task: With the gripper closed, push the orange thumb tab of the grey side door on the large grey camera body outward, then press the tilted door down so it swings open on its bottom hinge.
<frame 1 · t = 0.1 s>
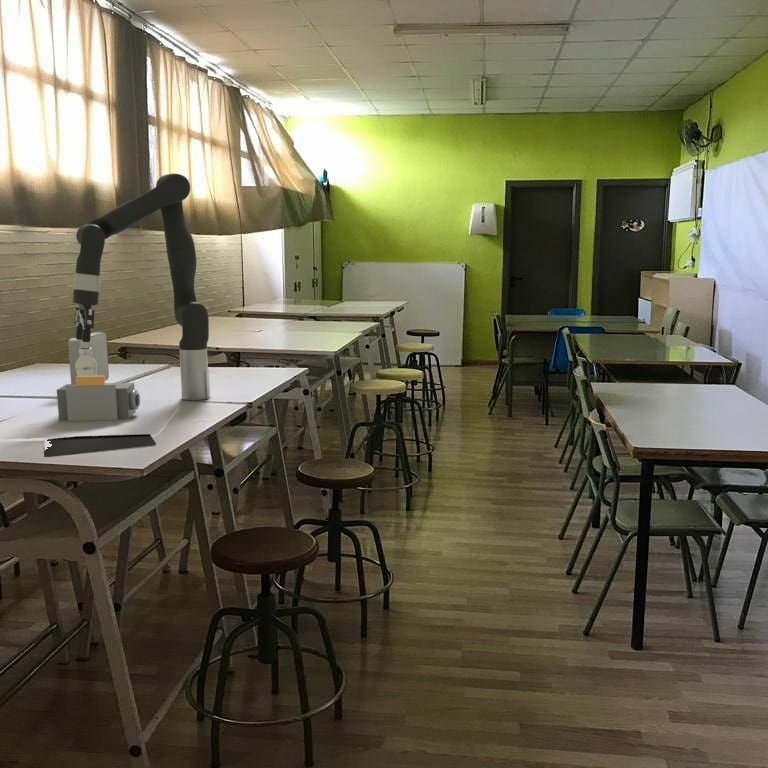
hand: (82, 340, 237), 22 cm above the table, tool pointing down, fingers open, 8 cm apart
plastic bottle: (89, 411, 241), on the table
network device: (91, 389, 279), on the table
camera body: (98, 418, 229), on the table
side door: (91, 398, 222), point 7 cm above the table, hinge at 0.0°
tablet: (99, 445, 200), on the table
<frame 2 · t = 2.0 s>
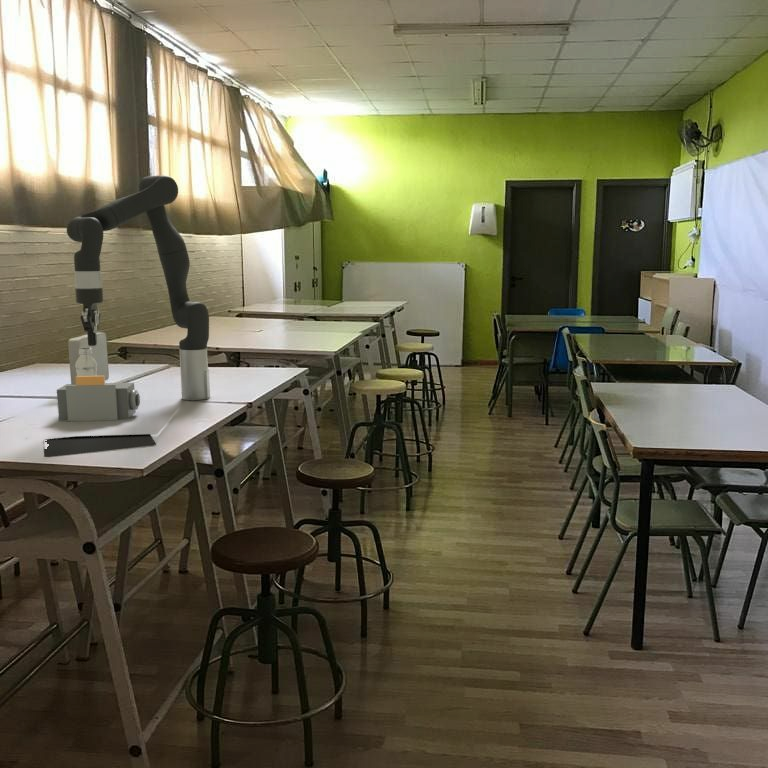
hand: (92, 345, 224), 22 cm above the table, tool pointing down, fingers closed
nothing on the table moved.
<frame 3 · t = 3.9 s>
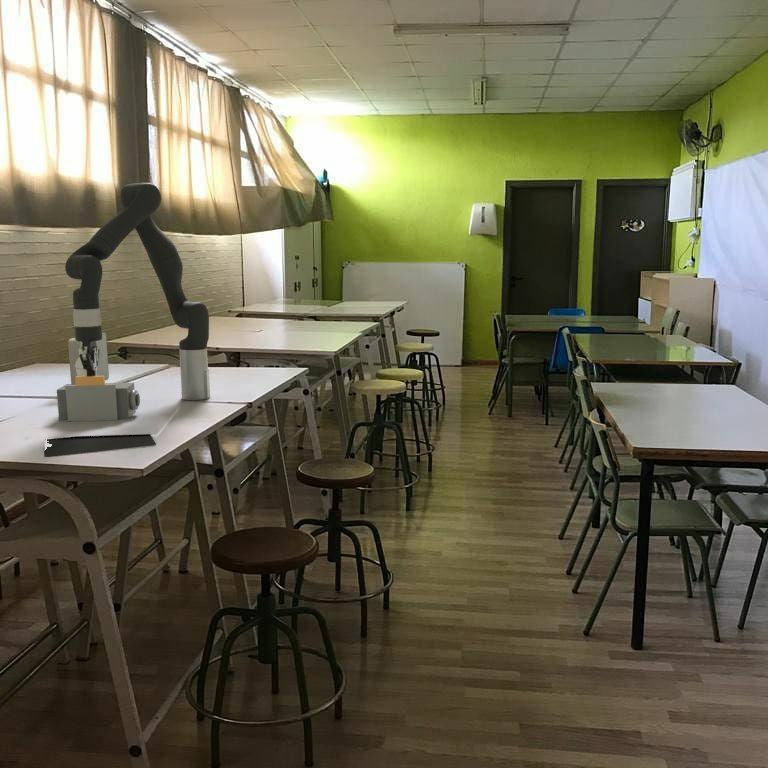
hand: (92, 382, 223), 12 cm above the table, tool pointing down, fingers closed
side door: (91, 398, 222), point 7 cm above the table, hinge at 1.6°, touching gripper
everything else where it was.
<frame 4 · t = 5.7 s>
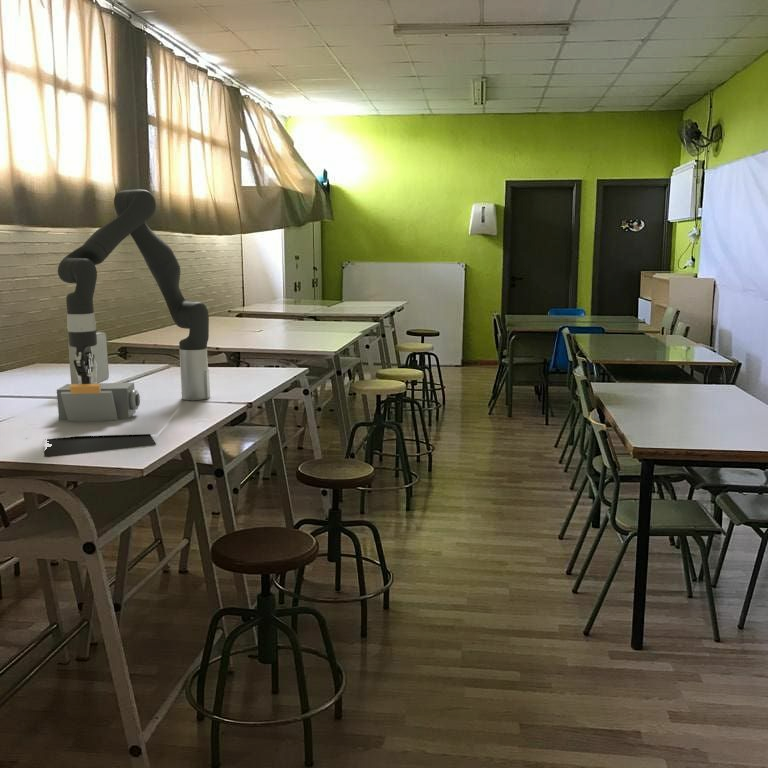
hand: (86, 388, 217), 11 cm above the table, tool pointing down, fingers closed
side door: (89, 403, 219), point 7 cm above the table, hinge at 28.6°, touching gripper
everything else where it was.
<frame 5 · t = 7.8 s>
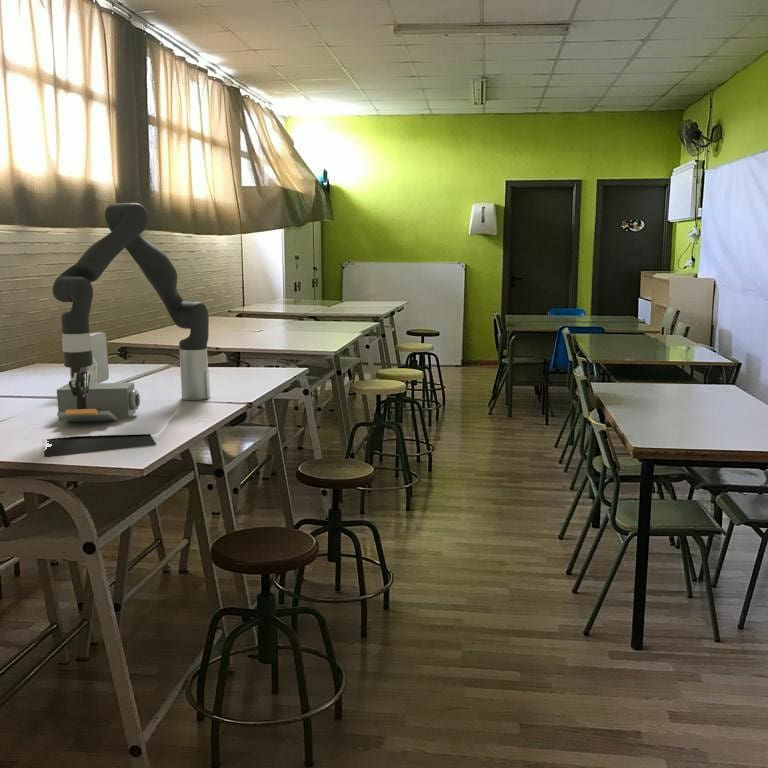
hand: (82, 410, 212), 6 cm above the table, tool pointing down, fingers closed
side door: (87, 415, 217), point 3 cm above the table, hinge at 66.9°, touching gripper
everything else where it was.
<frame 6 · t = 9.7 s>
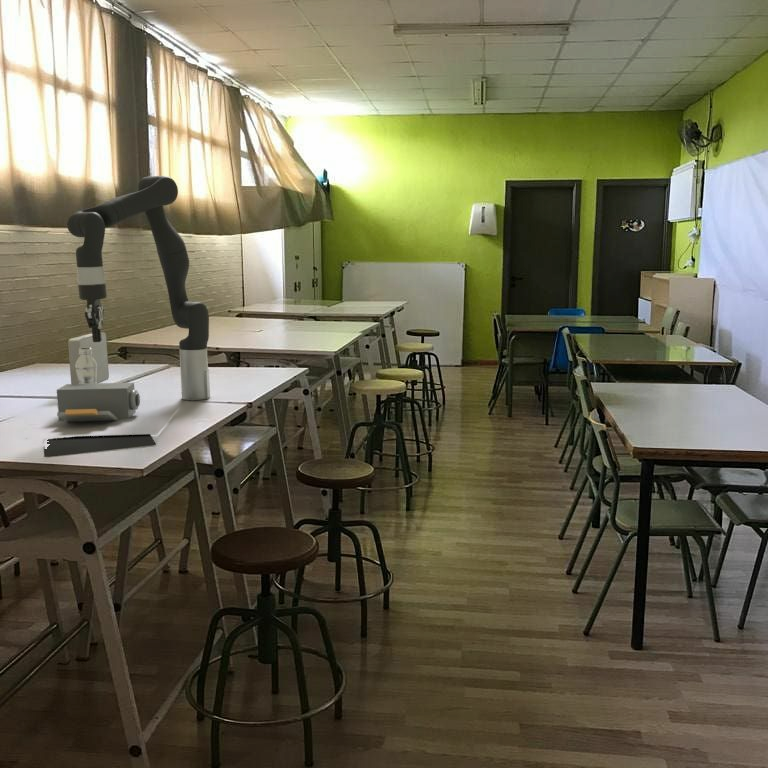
hand: (97, 341, 222), 24 cm above the table, tool pointing down, fingers closed
side door: (87, 415, 217), point 3 cm above the table, hinge at 66.9°
everything else where it was.
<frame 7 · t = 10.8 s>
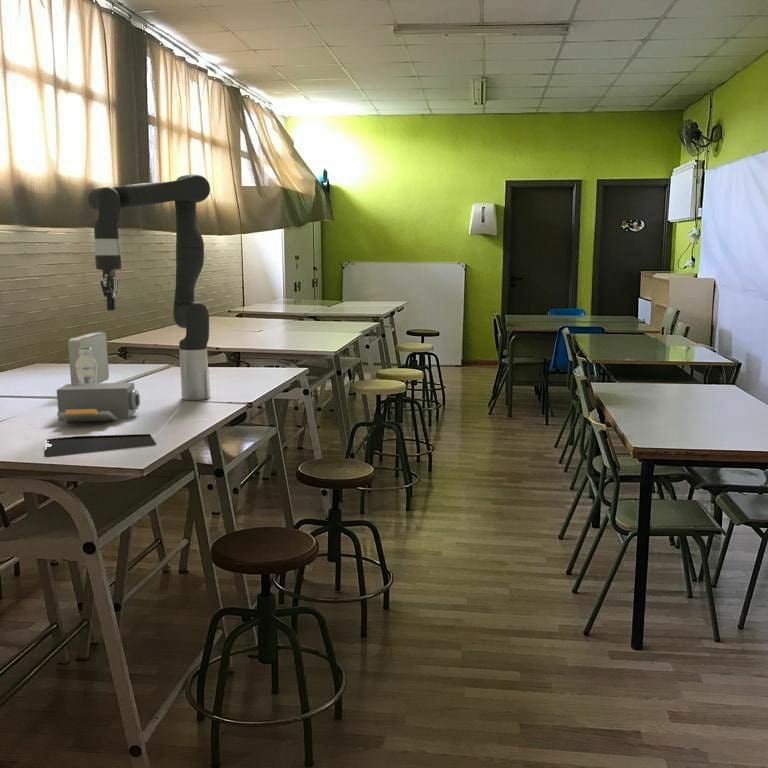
hand: (111, 310, 236), 32 cm above the table, tool pointing down, fingers closed
nothing on the table moved.
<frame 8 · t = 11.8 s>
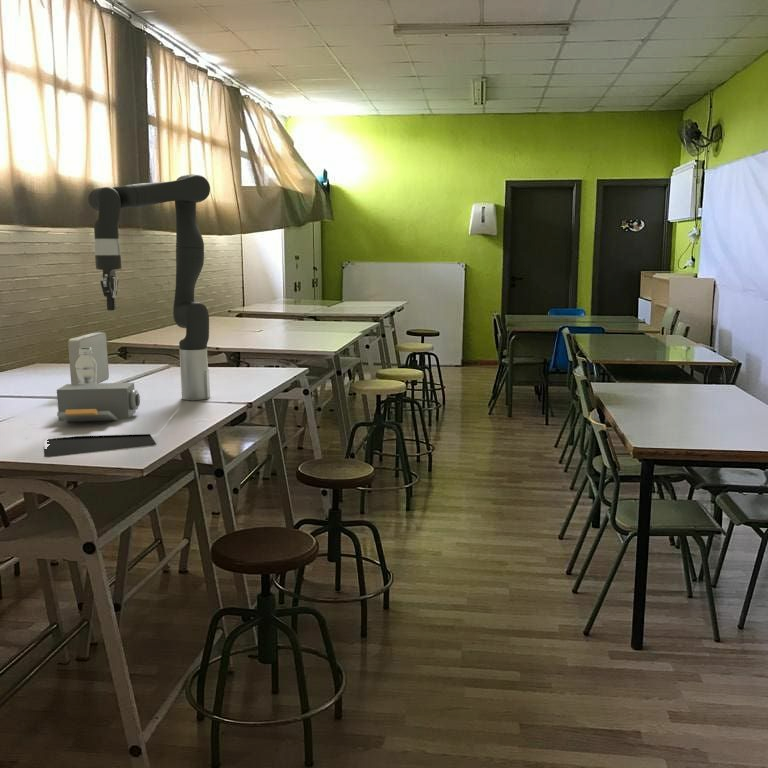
hand: (111, 310, 236), 32 cm above the table, tool pointing down, fingers closed
nothing on the table moved.
at the end: side door at +67° (first picture: +0°); plastic bottle moved 0.2 cm from its start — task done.
